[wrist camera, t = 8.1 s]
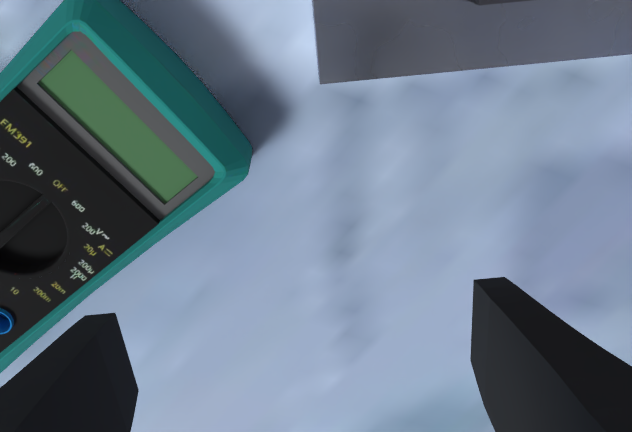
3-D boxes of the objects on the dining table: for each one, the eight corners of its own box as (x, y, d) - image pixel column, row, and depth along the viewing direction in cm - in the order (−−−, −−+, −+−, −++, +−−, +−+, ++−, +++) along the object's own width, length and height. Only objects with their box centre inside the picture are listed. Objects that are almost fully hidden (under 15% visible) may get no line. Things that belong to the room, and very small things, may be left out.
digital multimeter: (-157, 240, 22) (-219, 284, 19) (107, -28, 18) (75, -19, 15) (3, 355, 25) (-32, 406, 22) (263, 143, 21) (258, 175, 18)
